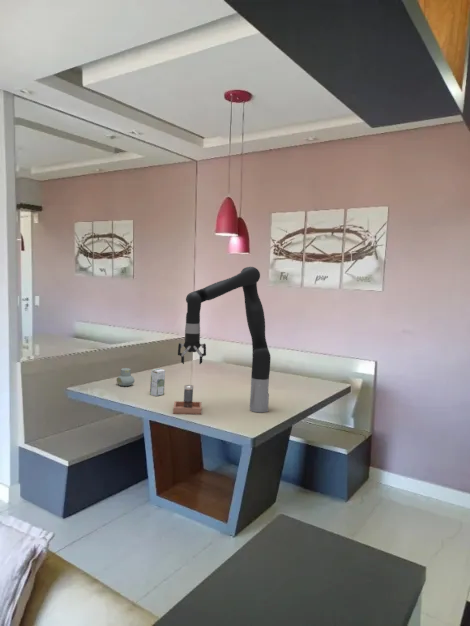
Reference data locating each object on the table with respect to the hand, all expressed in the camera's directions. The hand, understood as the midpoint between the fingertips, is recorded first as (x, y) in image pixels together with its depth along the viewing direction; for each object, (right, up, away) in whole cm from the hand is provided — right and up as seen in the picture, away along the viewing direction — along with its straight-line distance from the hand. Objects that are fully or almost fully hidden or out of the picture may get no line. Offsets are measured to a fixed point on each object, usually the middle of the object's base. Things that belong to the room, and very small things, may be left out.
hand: (191, 363), depth 237 cm
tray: (-2, -24, +1) cm, 24 cm away
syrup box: (-22, -21, +29) cm, 42 cm away
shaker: (-2, -23, +1) cm, 23 cm away
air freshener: (-45, -18, +47) cm, 67 cm away
